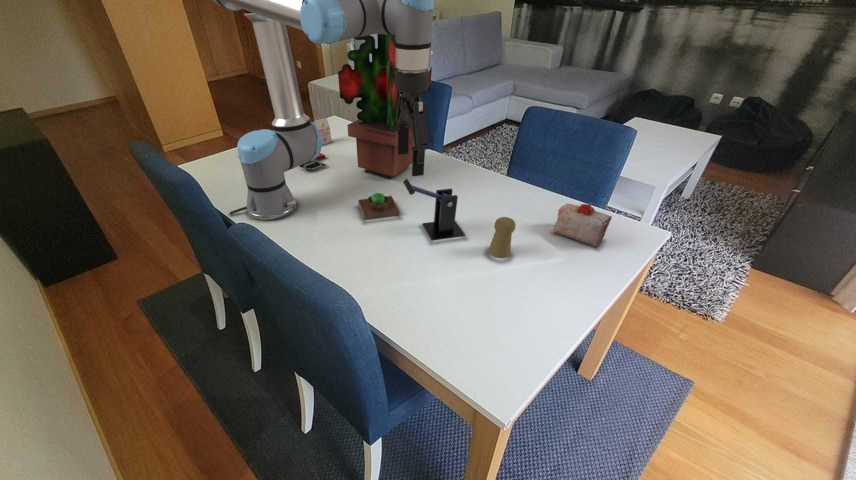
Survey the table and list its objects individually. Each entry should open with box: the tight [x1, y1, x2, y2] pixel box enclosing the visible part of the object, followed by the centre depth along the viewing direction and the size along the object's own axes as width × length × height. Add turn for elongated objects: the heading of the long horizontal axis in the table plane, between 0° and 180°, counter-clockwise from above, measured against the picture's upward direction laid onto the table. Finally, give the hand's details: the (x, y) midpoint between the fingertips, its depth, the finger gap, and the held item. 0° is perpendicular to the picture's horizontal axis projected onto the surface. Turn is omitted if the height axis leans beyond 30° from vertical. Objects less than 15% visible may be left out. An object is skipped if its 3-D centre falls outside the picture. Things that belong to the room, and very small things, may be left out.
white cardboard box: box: [312, 117, 333, 146], centre depth 164 cm, size 4×7×10 cm, turn 131°
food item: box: [553, 202, 613, 248], centre depth 108 cm, size 14×8×10 cm, turn 51°
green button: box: [371, 192, 385, 204], centre depth 119 cm, size 4×4×2 cm
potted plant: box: [337, 34, 433, 179], centre depth 132 cm, size 22×22×45 cm
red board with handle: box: [299, 152, 327, 172], centre depth 155 cm, size 30×3×15 cm
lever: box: [402, 178, 451, 202], centre depth 103 cm, size 14×6×2 cm, turn 104°
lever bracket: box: [422, 188, 466, 242], centre depth 109 cm, size 10×9×13 cm
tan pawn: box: [487, 216, 517, 259], centre depth 101 cm, size 6×6×11 cm
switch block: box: [357, 194, 400, 221], centre depth 121 cm, size 11×10×4 cm
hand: (409, 164), depth 97 cm, fingers open, 13 cm apart
